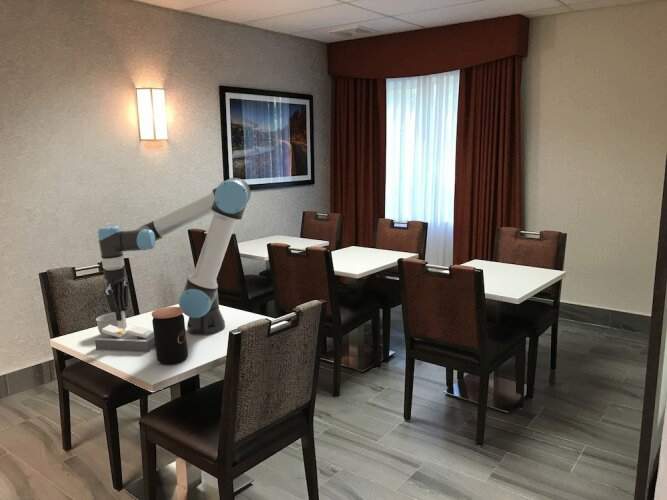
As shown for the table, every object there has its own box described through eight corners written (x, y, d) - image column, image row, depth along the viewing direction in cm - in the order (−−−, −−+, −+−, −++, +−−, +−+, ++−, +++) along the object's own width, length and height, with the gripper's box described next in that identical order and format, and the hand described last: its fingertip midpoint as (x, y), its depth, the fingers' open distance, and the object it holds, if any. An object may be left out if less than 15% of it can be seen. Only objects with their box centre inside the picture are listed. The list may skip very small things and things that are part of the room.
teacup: (116, 339, 216) (114, 320, 215) (92, 338, 219) (89, 319, 217) (136, 327, 230) (133, 309, 228) (113, 327, 232) (110, 309, 230)
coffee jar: (185, 364, 188) (180, 314, 185) (153, 366, 187) (147, 317, 184) (190, 352, 199) (185, 305, 195) (161, 355, 198) (155, 307, 194)
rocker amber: (127, 333, 211) (128, 330, 210) (120, 338, 206) (120, 334, 205) (109, 327, 212) (109, 324, 211) (101, 331, 207) (102, 328, 207)
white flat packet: (153, 333, 208) (154, 330, 208) (146, 338, 203) (147, 335, 203) (134, 328, 209) (135, 325, 209) (127, 333, 205) (127, 329, 204)
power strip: (171, 342, 210) (170, 330, 209) (158, 352, 201) (157, 339, 200) (111, 340, 216) (110, 328, 215) (96, 349, 206) (94, 337, 205)
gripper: (115, 263, 210) (123, 322, 215) (94, 272, 198) (103, 333, 202) (132, 263, 208) (140, 322, 213) (112, 271, 196) (121, 334, 201)
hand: (122, 327), depth 208 cm, fingers closed
